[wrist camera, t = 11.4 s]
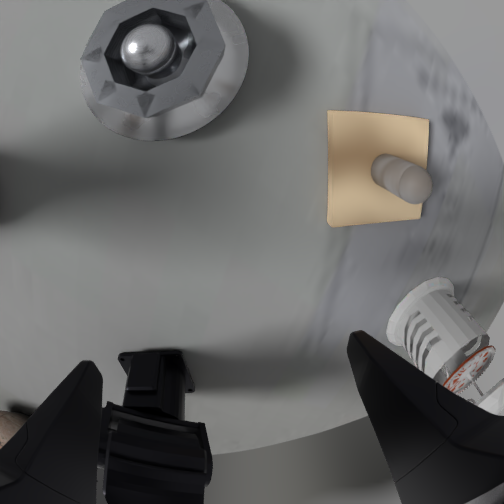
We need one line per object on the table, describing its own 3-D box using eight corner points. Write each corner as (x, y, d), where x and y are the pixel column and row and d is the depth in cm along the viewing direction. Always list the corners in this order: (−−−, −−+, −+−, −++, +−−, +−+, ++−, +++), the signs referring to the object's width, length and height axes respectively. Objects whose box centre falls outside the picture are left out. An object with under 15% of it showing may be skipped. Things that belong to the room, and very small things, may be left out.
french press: (458, 262, 24) (597, 431, 3) (447, 331, 30) (537, 473, 8) (384, 300, 25) (514, 526, 3) (386, 365, 31) (465, 531, 9)
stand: (413, 214, 21) (456, 245, 16) (327, 222, 20) (361, 261, 15) (420, 118, 17) (473, 129, 12) (327, 110, 16) (370, 114, 12)
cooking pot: (66, 411, 29) (50, 482, 19) (103, 457, 38) (97, 510, 27) (-37, 375, 25) (-58, 424, 15) (8, 428, 34) (-4, 470, 23)
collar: (187, 127, 15) (182, 131, 12) (89, 94, 13) (66, 94, 10) (239, 29, 12) (244, 14, 10) (136, -1, 10) (123, -19, 8)
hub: (251, 127, 17) (268, 135, 12) (99, 152, 16) (57, 172, 11) (240, -13, 12) (251, -55, 7) (88, 17, 11) (46, -7, 6)
